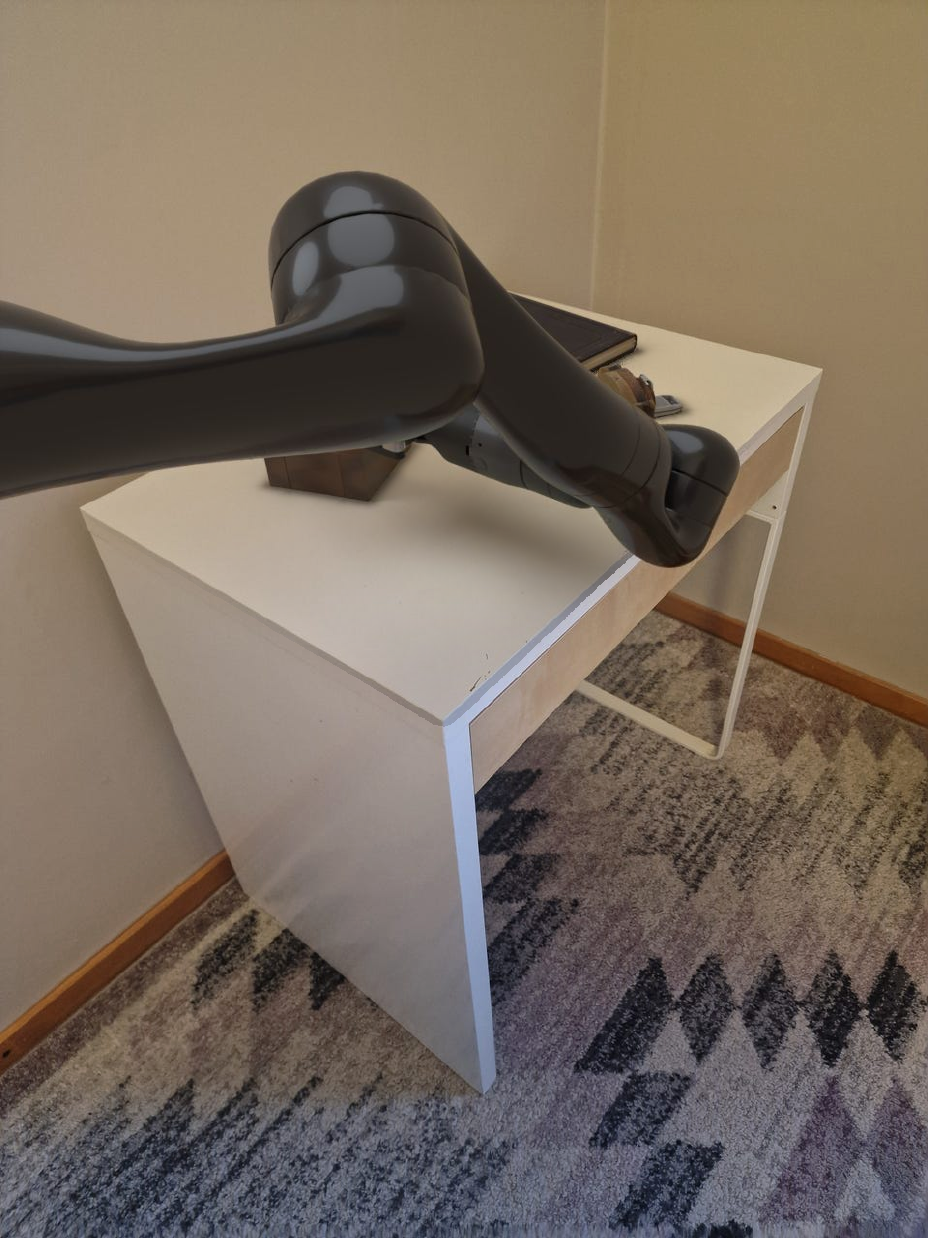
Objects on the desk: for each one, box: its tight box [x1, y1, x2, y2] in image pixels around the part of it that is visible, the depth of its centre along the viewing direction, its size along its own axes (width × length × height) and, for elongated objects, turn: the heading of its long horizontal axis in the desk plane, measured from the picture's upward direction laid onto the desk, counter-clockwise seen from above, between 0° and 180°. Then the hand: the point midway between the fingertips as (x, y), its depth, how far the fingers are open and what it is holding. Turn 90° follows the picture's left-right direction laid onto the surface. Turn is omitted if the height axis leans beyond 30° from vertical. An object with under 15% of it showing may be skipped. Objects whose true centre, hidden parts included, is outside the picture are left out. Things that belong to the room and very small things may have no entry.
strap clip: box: [638, 373, 683, 418], centre depth 94 cm, size 8×3×4 cm, turn 107°
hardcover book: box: [508, 291, 638, 373], centre depth 110 cm, size 16×23×2 cm
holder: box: [263, 444, 412, 502], centre depth 88 cm, size 11×11×5 cm
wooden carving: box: [597, 363, 656, 421], centre depth 83 cm, size 16×5×10 cm, turn 16°
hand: (367, 386), depth 81 cm, fingers open, 8 cm apart
